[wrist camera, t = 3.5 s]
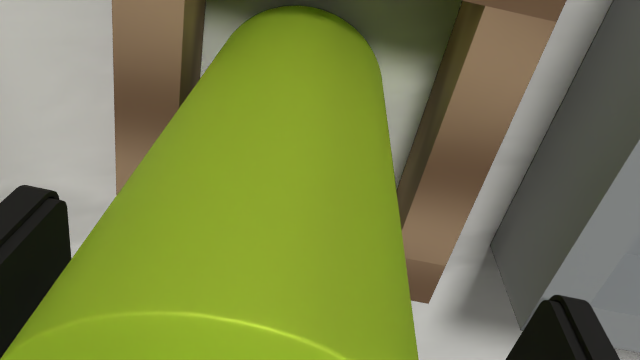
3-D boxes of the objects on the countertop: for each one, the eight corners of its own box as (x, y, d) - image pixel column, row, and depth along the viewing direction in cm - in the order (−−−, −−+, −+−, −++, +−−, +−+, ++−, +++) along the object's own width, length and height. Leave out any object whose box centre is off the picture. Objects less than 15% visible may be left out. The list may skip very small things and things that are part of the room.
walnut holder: (145, -168, 14) (108, -174, 12) (557, -70, 15) (592, -58, 12) (141, 206, 21) (117, 244, 19) (421, 260, 21) (428, 303, 19)
